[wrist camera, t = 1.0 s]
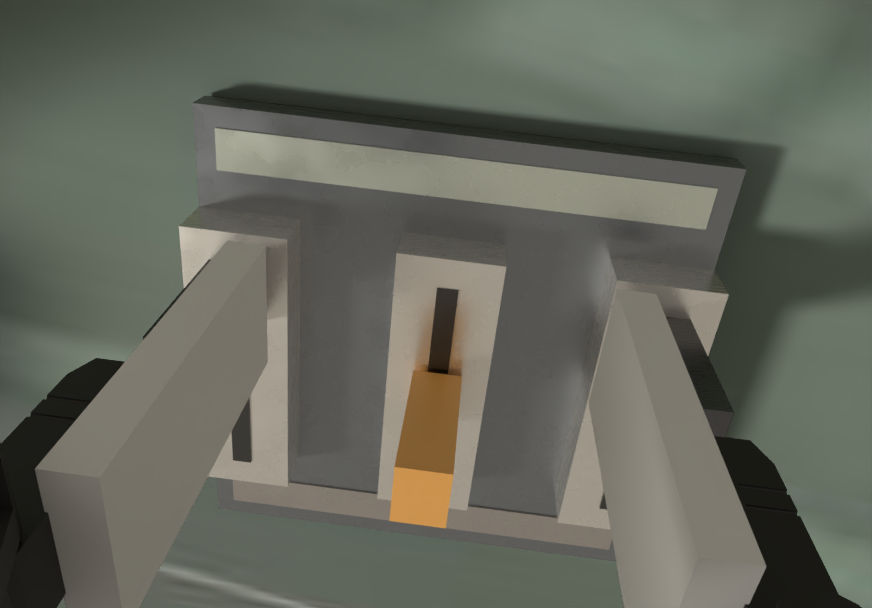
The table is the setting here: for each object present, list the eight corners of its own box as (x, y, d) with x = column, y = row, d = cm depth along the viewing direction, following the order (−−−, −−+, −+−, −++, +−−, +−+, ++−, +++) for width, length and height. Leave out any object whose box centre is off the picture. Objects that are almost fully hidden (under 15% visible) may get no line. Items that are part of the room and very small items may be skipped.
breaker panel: (227, 491, 46) (153, 645, 36) (204, 95, 34) (85, 168, 24) (617, 543, 45) (649, 713, 36) (736, 159, 33) (832, 259, 24)
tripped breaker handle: (408, 418, 36) (389, 520, 30) (413, 370, 35) (394, 466, 29) (455, 424, 36) (445, 528, 30) (462, 376, 35) (453, 474, 29)
